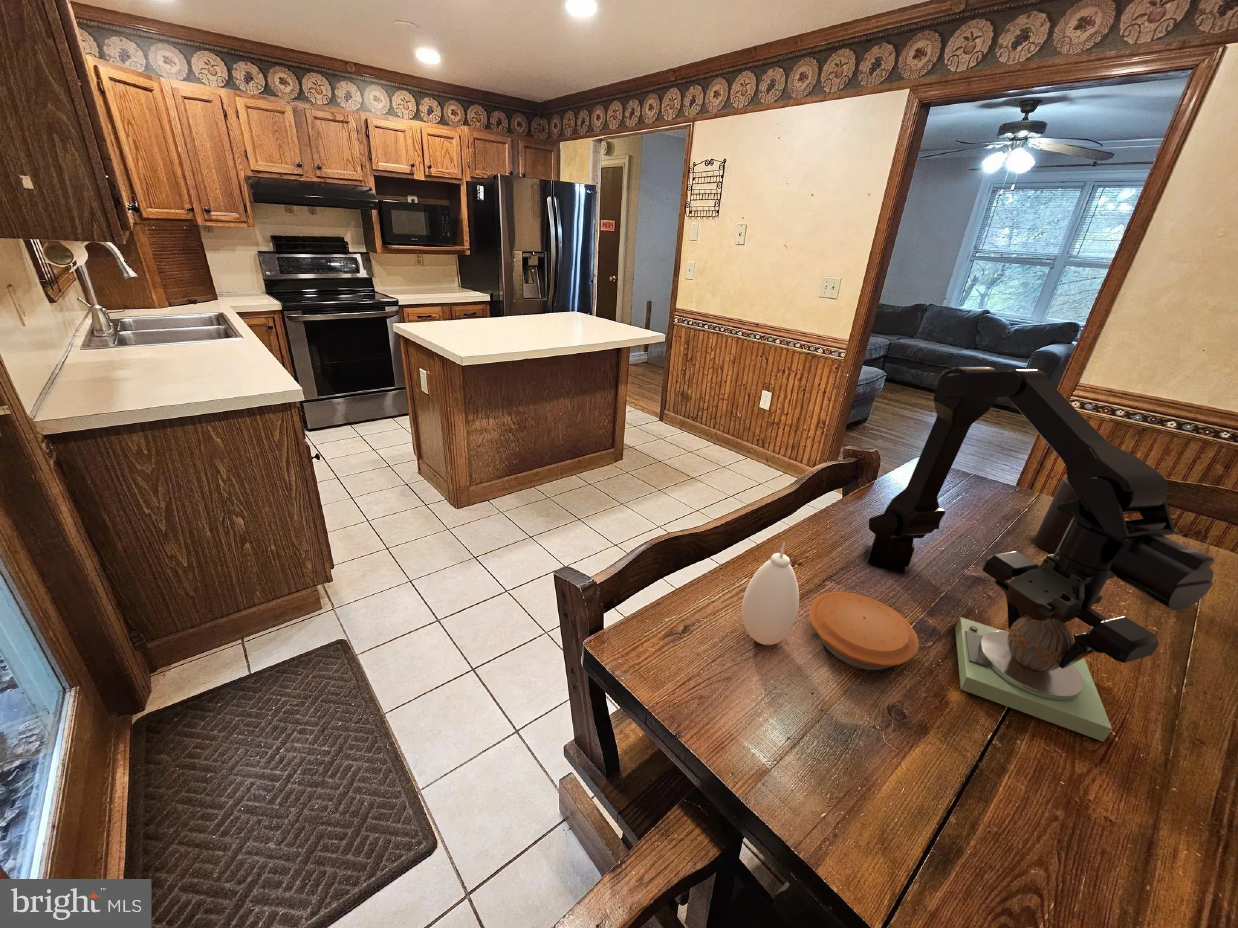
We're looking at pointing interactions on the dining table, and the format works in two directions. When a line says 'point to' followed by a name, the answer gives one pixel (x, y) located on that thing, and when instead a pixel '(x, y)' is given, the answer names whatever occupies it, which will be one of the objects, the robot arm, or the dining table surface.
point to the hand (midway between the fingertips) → (1036, 647)
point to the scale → (985, 682)
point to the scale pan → (1029, 670)
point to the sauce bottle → (771, 600)
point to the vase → (1039, 642)
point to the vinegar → (1055, 519)
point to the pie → (862, 631)
